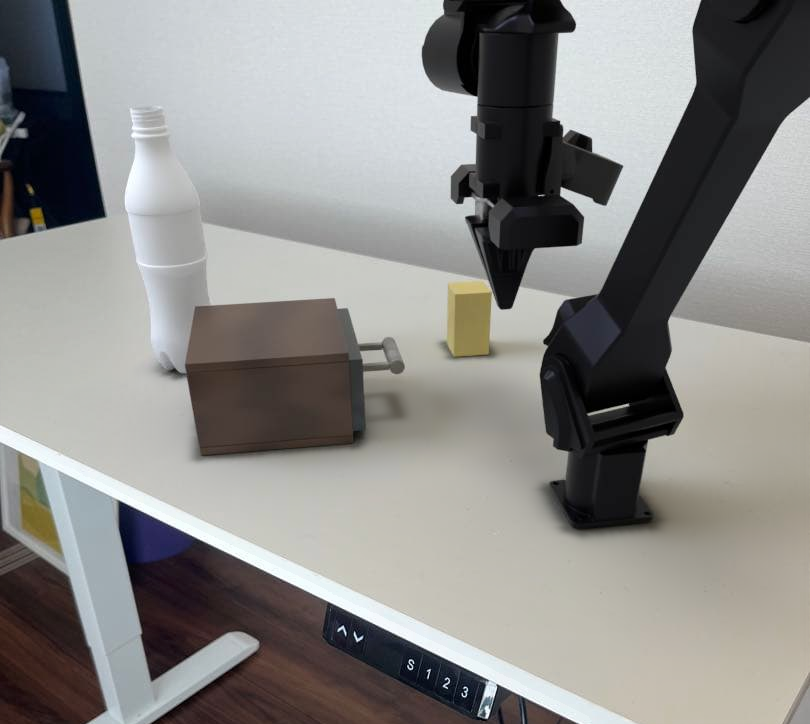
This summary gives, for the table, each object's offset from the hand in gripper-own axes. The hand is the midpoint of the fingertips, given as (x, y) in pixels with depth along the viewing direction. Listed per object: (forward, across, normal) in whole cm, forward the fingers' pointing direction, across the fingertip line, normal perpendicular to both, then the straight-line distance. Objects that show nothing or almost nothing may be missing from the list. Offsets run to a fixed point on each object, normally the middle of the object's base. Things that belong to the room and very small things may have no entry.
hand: (504, 308), depth 70 cm
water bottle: (+11, +20, +30) cm, 37 cm away
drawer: (+10, +6, +17) cm, 20 cm away
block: (+11, +19, -1) cm, 22 cm away
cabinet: (+11, +6, +21) cm, 24 cm away
